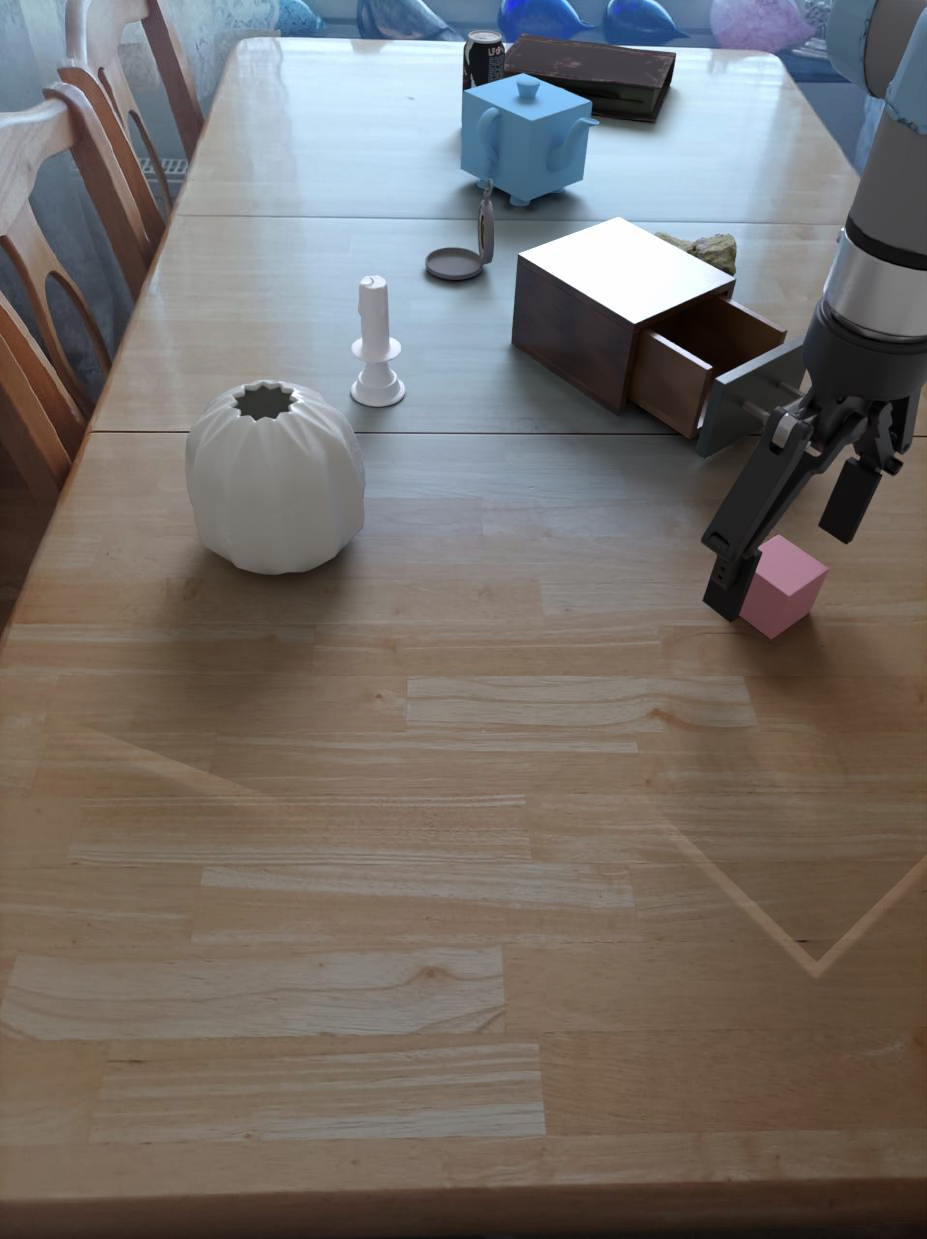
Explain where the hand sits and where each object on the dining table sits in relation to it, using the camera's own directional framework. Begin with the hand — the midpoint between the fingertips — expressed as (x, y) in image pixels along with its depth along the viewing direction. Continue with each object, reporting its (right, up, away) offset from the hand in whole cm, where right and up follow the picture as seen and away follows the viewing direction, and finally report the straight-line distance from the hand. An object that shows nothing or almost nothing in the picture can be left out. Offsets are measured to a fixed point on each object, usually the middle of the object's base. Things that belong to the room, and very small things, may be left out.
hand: (779, 570), depth 70 cm
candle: (-32, +18, +21) cm, 43 cm away
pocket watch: (-24, +37, +38) cm, 58 cm away
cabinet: (-8, +24, +27) cm, 37 cm away
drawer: (-1, +17, +19) cm, 26 cm away
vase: (-38, +3, +7) cm, 39 cm away
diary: (-5, +79, +77) cm, 110 cm away
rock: (+2, +36, +38) cm, 52 cm away
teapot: (-14, +52, +52) cm, 74 cm away
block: (0, -3, +3) cm, 4 cm away
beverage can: (-21, +68, +66) cm, 97 cm away
